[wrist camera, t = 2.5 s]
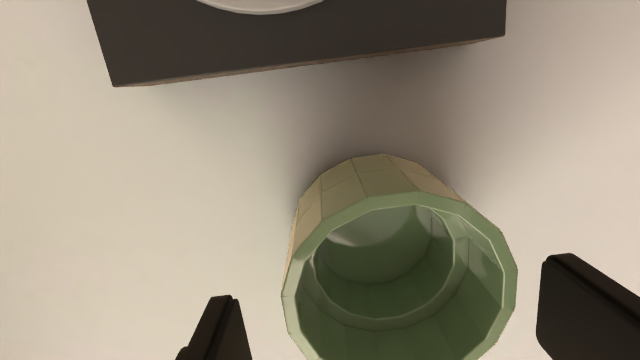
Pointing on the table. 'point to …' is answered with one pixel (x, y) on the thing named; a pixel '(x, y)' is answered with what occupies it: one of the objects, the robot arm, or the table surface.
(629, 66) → the table surface
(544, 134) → the table surface
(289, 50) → the scale
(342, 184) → the green cup
